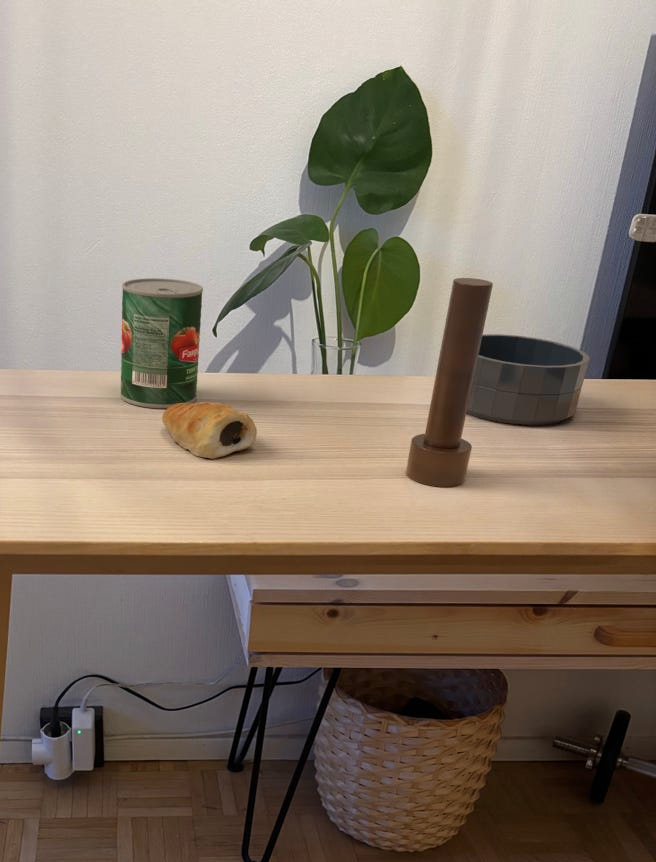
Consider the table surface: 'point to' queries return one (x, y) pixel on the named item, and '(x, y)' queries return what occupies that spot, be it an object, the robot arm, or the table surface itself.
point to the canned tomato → (160, 341)
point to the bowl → (526, 380)
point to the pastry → (209, 428)
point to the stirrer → (452, 389)
